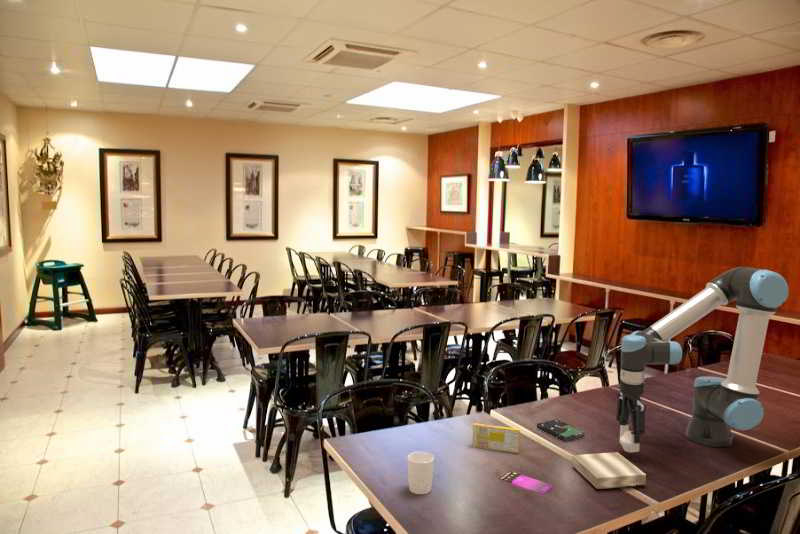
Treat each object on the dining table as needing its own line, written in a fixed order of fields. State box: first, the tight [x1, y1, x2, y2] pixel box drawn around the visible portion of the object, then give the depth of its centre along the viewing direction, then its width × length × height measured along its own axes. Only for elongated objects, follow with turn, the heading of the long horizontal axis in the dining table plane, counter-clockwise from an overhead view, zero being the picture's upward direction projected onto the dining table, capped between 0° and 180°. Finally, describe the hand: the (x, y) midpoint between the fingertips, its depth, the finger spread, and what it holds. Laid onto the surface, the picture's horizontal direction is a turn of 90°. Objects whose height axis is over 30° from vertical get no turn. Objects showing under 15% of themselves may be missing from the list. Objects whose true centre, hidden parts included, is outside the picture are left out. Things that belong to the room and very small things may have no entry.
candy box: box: [471, 422, 521, 454], centre depth 200 cm, size 16×2×8 cm, turn 71°
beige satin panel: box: [571, 451, 647, 490], centre depth 181 cm, size 16×16×4 cm
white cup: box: [406, 451, 435, 495], centre depth 171 cm, size 8×8×10 cm
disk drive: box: [536, 419, 586, 443], centre depth 215 cm, size 10×3×15 cm
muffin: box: [619, 430, 633, 453], centre depth 196 cm, size 6×6×7 cm
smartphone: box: [499, 470, 555, 496], centre depth 176 cm, size 7×15×1 cm, turn 50°
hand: (629, 447), depth 196 cm, fingers closed on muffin, 6 cm apart
